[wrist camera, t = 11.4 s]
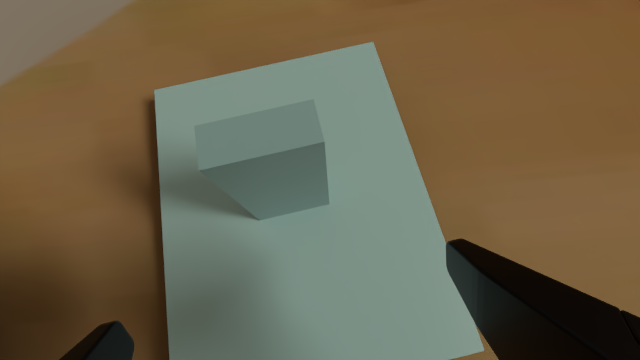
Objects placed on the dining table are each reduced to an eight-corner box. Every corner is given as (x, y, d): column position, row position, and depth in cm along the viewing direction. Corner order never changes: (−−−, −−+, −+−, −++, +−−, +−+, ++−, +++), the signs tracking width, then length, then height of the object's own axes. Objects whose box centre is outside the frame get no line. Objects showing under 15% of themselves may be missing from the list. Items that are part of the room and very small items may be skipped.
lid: (470, 344, 16) (650, 427, 7) (189, 414, 15) (-19, 602, 6) (370, 58, 22) (394, -99, 13) (167, 103, 22) (44, -26, 13)
